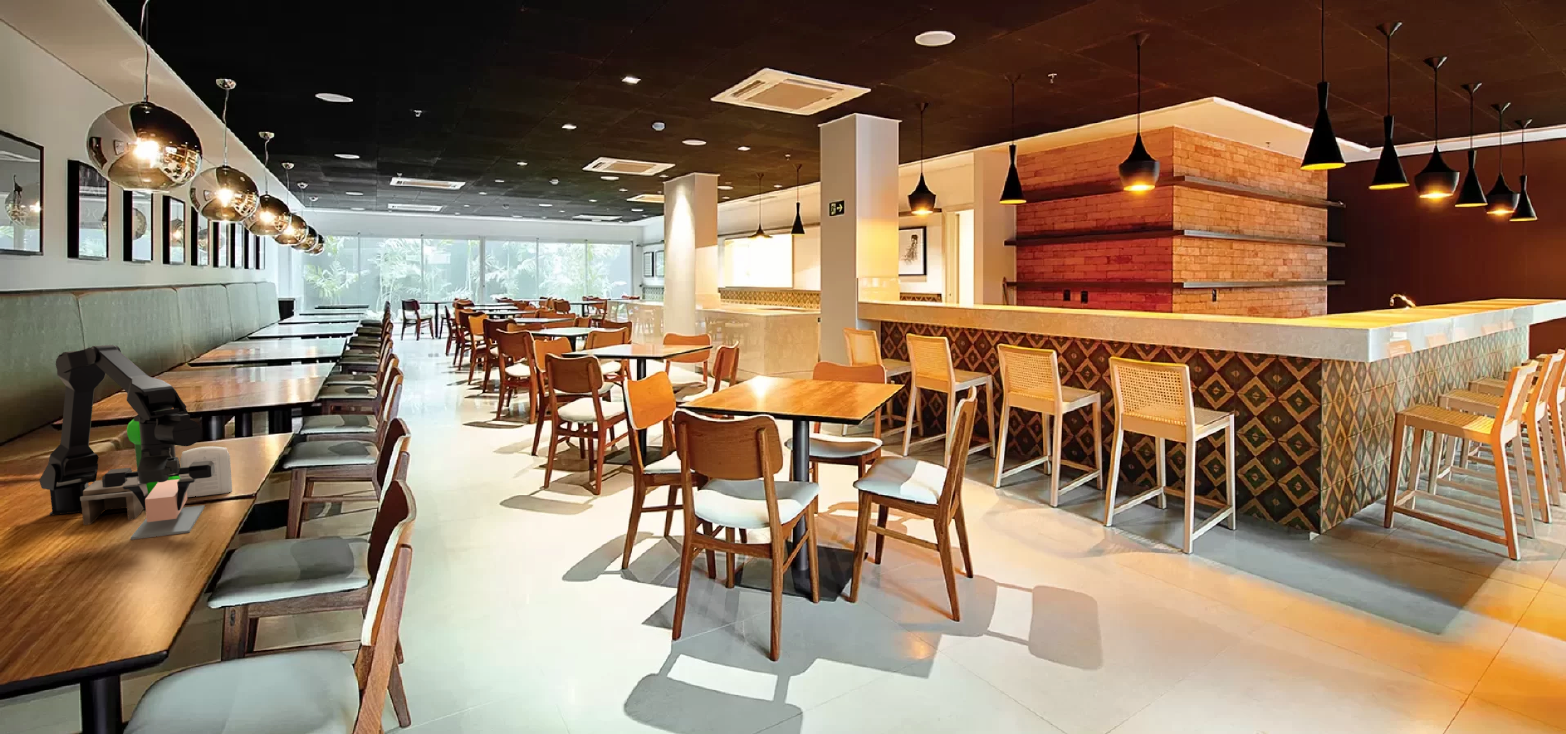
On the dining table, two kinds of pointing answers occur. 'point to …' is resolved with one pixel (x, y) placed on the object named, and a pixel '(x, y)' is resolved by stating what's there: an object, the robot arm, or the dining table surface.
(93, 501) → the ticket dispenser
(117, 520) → the dining table surface
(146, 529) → the slate mat
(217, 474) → the white arched slab
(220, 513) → the dining table surface
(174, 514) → the block
